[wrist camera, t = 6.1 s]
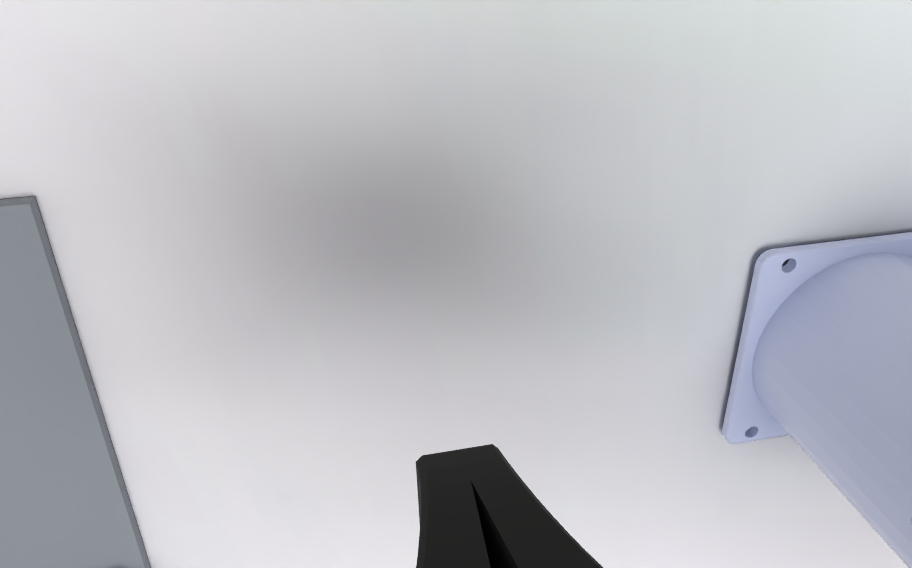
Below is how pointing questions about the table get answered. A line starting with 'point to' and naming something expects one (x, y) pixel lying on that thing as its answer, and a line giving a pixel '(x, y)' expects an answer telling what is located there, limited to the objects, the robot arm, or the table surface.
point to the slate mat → (52, 421)
